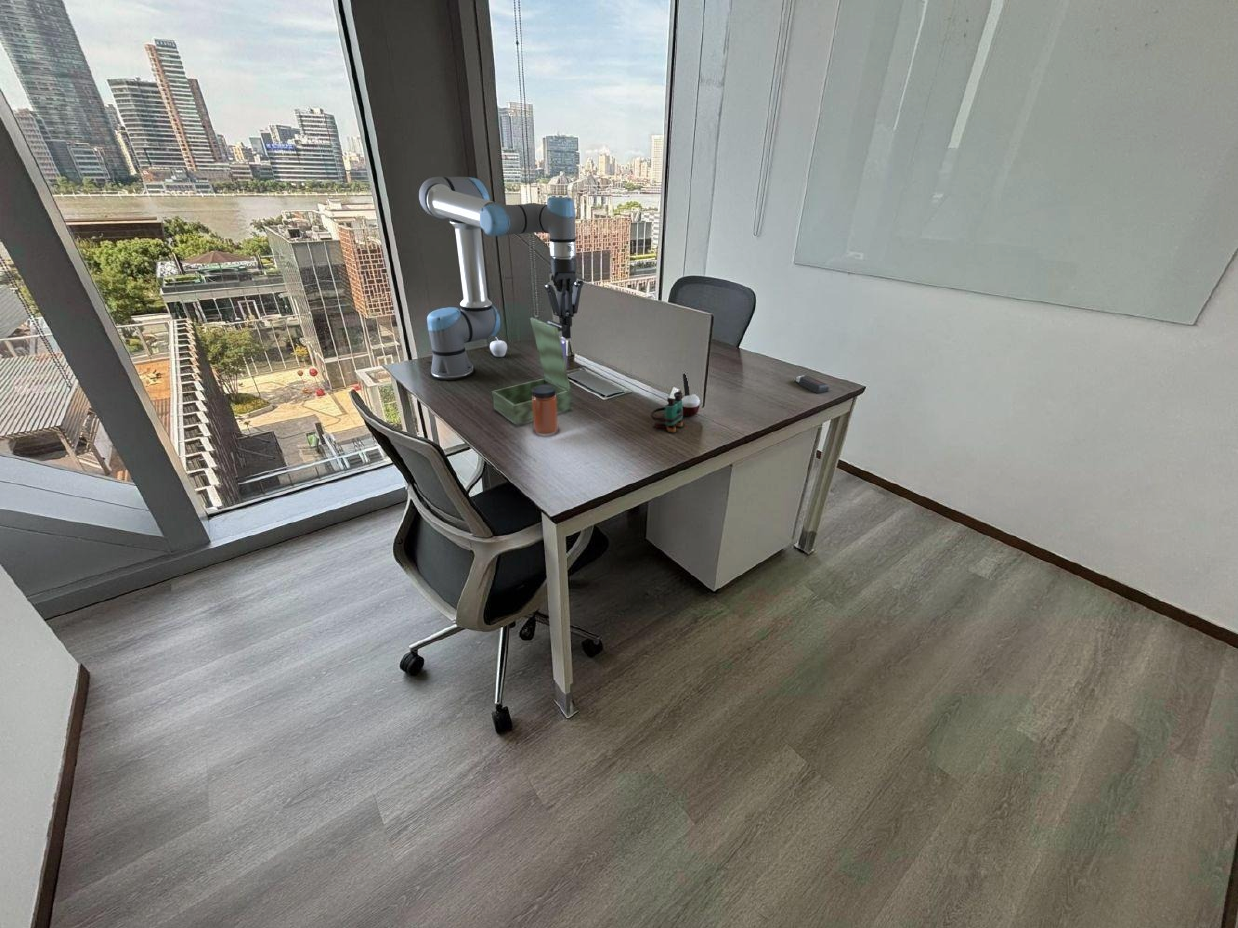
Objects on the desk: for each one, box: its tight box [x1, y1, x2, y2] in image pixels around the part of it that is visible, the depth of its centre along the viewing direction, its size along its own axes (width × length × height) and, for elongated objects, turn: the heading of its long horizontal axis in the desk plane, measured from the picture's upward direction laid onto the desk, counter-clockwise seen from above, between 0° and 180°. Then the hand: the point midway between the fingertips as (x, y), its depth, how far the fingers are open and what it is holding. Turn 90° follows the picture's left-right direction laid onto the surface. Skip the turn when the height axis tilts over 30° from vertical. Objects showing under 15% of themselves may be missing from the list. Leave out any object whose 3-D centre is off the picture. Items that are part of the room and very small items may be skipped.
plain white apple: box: [489, 336, 508, 358], centre depth 203 cm, size 7×7×8 cm
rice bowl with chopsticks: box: [681, 373, 701, 418], centre depth 154 cm, size 10×6×12 cm, turn 173°
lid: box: [529, 317, 571, 391], centre depth 154 cm, size 20×15×6 cm
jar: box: [532, 385, 559, 435], centre depth 142 cm, size 7×7×13 cm
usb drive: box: [795, 375, 830, 394], centre depth 179 cm, size 5×12×3 cm, turn 25°
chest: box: [491, 377, 571, 425], centre depth 156 cm, size 20×15×7 cm
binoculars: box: [650, 391, 684, 433], centre depth 147 cm, size 9×11×10 cm
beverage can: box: [559, 335, 568, 371], centre depth 180 cm, size 6×6×15 cm
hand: (566, 337), depth 154 cm, fingers closed
